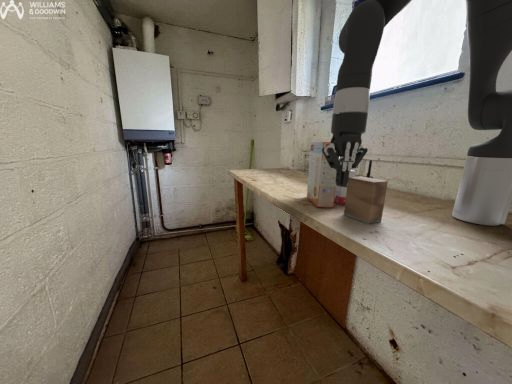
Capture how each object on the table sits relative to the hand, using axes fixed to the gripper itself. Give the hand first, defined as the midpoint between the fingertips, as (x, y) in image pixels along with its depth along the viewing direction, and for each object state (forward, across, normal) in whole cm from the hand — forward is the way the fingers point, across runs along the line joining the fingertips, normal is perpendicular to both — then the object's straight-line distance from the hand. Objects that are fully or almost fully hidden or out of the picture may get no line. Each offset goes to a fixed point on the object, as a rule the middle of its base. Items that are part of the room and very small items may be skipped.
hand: (341, 185), depth 51 cm
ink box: (+10, -17, -15) cm, 24 cm away
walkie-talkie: (+10, -23, -10) cm, 27 cm away
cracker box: (+10, -9, -17) cm, 22 cm away
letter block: (+10, -9, 0) cm, 14 cm away
